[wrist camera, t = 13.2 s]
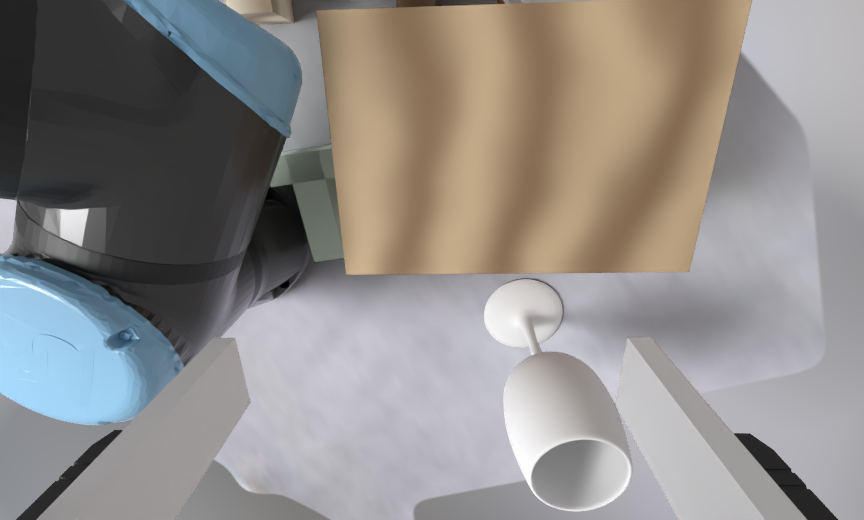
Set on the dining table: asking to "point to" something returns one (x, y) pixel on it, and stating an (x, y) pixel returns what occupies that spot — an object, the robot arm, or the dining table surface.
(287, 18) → the beech stick
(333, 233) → the tee stick
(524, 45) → the wooden storage bin
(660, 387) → the robot arm
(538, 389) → the wineglass
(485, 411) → the dining table surface
